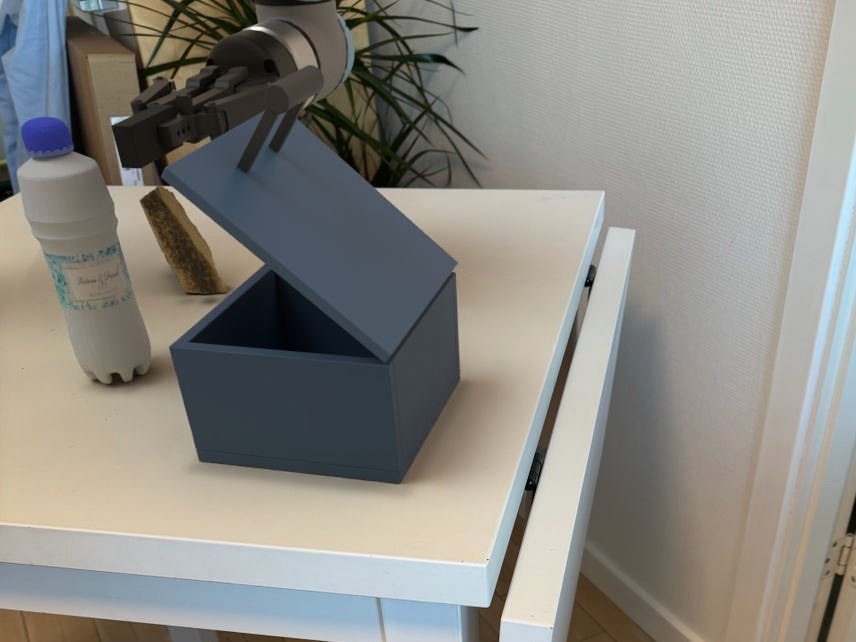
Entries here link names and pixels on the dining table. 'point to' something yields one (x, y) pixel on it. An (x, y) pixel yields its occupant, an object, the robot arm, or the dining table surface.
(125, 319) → the bottle
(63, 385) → the dining table surface
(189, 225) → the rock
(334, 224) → the lid
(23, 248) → the dining table surface
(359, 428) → the blue-grey open box
